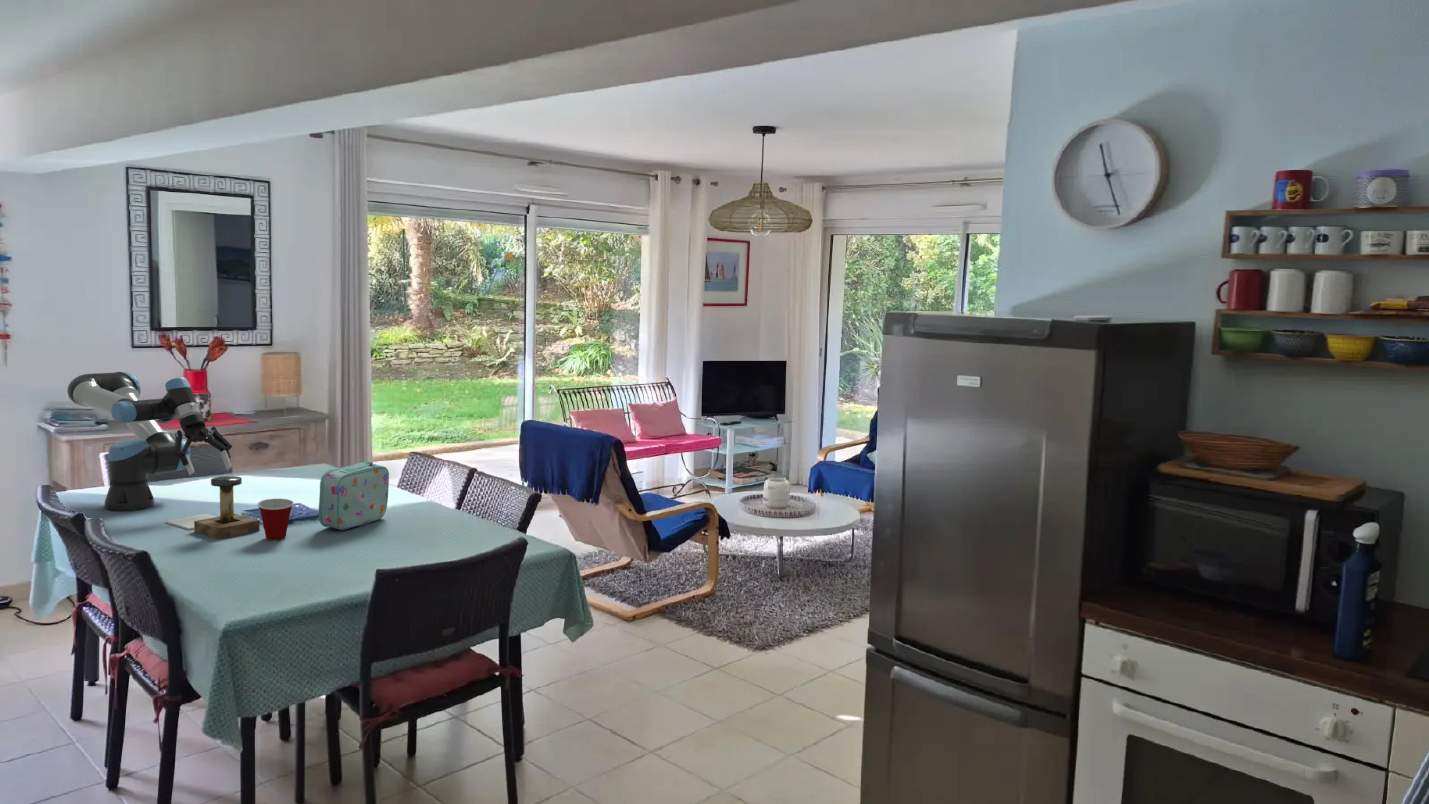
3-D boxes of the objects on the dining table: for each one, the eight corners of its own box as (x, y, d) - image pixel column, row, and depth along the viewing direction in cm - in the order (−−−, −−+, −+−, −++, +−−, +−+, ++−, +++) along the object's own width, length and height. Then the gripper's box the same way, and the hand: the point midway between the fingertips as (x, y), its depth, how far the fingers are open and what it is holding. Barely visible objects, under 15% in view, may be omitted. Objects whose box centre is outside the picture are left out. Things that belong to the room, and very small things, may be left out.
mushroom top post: (206, 531, 315) (205, 479, 313) (232, 526, 323) (231, 475, 321) (222, 536, 310) (221, 483, 308) (248, 530, 318) (247, 478, 316)
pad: (166, 522, 323) (165, 521, 323) (206, 515, 335) (206, 513, 335) (189, 530, 316) (189, 528, 316) (229, 522, 328) (229, 520, 328)
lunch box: (368, 513, 347) (368, 455, 345) (392, 517, 344) (392, 458, 341) (315, 530, 322) (314, 468, 320) (339, 534, 319) (339, 471, 316)
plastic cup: (260, 544, 304) (259, 507, 302) (255, 535, 313) (255, 500, 311) (296, 540, 309) (296, 504, 308) (291, 532, 318) (291, 497, 317)
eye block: (194, 531, 314) (194, 521, 314) (234, 523, 326) (234, 513, 326) (219, 539, 307) (218, 528, 307) (259, 530, 319) (259, 520, 318)
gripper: (159, 416, 329) (180, 470, 325) (228, 409, 350) (249, 460, 346) (150, 426, 333) (170, 480, 328) (219, 419, 354) (239, 470, 349)
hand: (211, 470), depth 337 cm, fingers open, 13 cm apart
